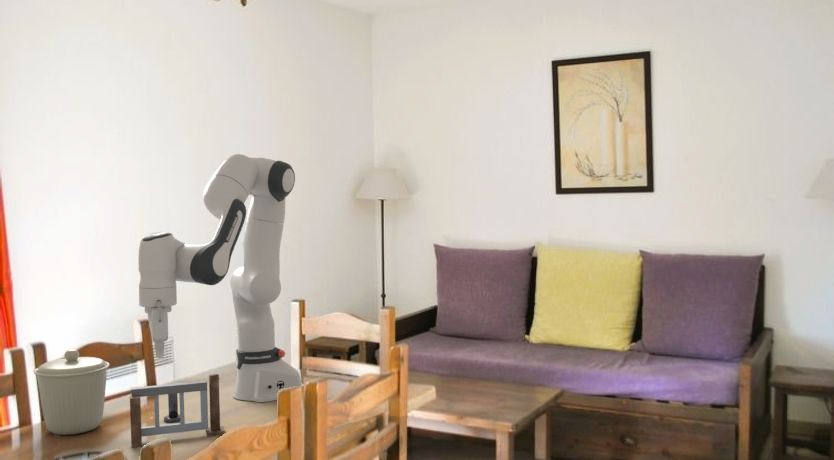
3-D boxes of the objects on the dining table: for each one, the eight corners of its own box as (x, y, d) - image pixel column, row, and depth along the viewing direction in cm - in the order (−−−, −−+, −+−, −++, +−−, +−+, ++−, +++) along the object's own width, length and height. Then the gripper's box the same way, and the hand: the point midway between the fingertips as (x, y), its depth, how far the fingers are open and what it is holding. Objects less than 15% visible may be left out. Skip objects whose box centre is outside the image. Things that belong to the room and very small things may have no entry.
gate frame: (223, 429, 204) (221, 372, 204) (226, 436, 199) (224, 377, 198) (131, 440, 197) (129, 380, 196) (131, 447, 191) (129, 386, 190)
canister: (34, 444, 195) (31, 359, 194) (37, 424, 211) (34, 346, 210) (113, 434, 202) (110, 352, 201) (110, 416, 218) (107, 340, 217)
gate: (207, 427, 202) (206, 380, 201) (208, 429, 200) (207, 382, 199) (132, 435, 195) (131, 387, 195) (132, 438, 194) (131, 389, 193)
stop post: (182, 416, 217) (181, 384, 217) (183, 421, 212) (182, 388, 212) (163, 418, 215) (162, 385, 215) (164, 423, 211) (163, 390, 210)
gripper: (173, 302, 186) (174, 360, 187) (169, 292, 206) (170, 345, 206) (145, 304, 184) (146, 362, 185) (143, 294, 203) (144, 347, 204)
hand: (158, 353), depth 196 cm, fingers open, 8 cm apart
